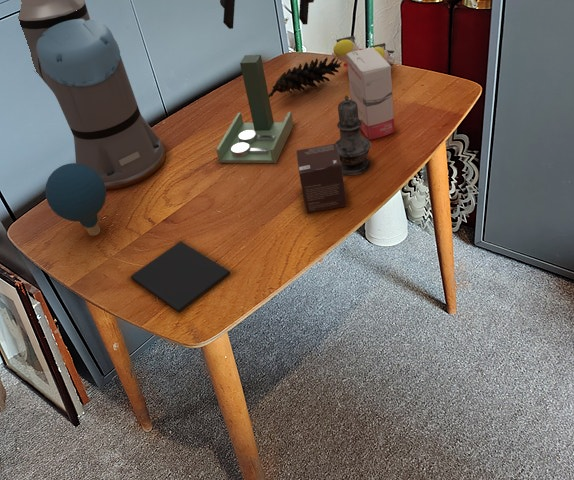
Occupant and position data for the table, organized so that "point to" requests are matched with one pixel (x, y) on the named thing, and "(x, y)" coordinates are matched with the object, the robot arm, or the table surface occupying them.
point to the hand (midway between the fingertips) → (265, 23)
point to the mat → (180, 276)
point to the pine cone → (305, 76)
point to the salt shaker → (351, 140)
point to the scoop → (256, 119)
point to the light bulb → (77, 195)
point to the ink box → (371, 91)
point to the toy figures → (349, 45)
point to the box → (321, 178)
